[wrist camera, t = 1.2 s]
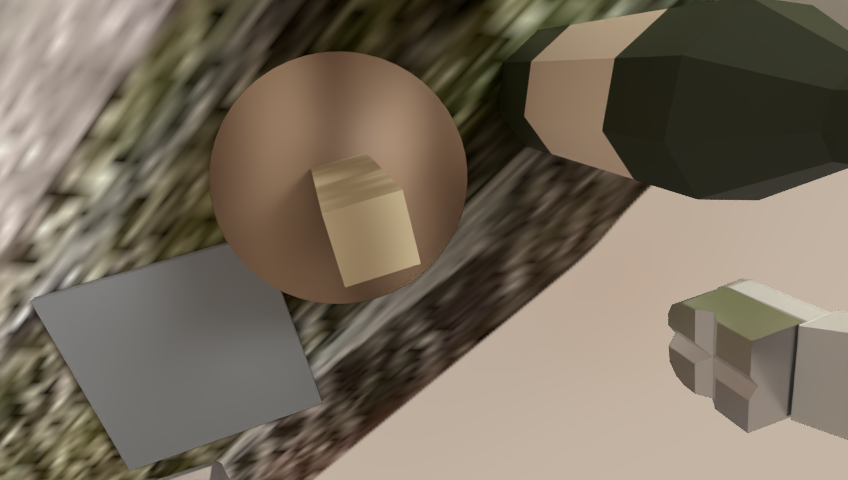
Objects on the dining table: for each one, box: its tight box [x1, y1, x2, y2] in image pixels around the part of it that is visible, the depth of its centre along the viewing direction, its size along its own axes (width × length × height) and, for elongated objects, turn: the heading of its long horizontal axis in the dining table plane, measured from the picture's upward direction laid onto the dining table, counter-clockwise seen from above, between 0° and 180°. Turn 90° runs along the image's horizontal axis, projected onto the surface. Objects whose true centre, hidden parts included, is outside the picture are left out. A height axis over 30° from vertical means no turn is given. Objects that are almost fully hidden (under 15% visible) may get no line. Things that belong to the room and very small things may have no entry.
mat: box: [30, 242, 322, 471], centre depth 34 cm, size 14×14×1 cm
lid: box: [209, 51, 467, 304], centre depth 23 cm, size 14×14×10 cm
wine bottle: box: [498, 0, 848, 200], centre depth 21 cm, size 8×8×30 cm
